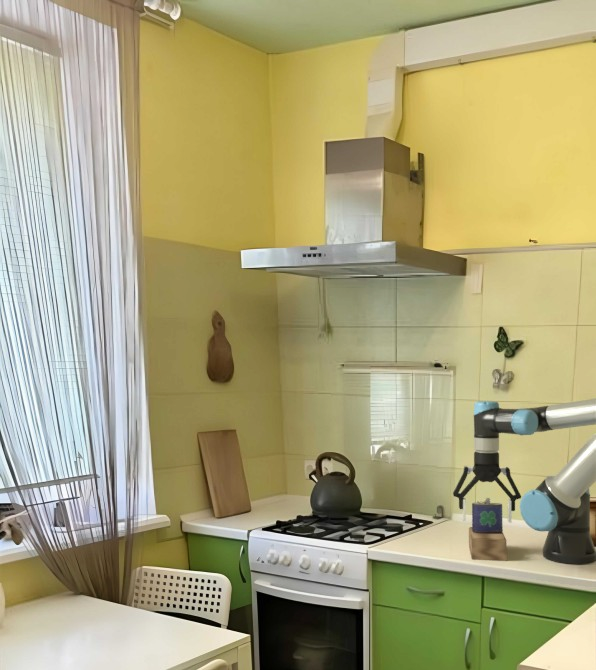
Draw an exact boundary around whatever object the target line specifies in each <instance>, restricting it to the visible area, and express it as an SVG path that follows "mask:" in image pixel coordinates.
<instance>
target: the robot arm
mask: <svg viewBox="0 0 596 670" xmlns="http://www.w3.org/2000/svg"><path fill="white" fill-rule="evenodd" d="M472 417H473V434H474V435H473V450H475V451H474V453H473V467H471V466H470V467H469V466H468V465H465V466H463V470H462V471H463V472H462V474H461V477H460V479H459V480H458V483H457V484H456V486H455V489H454V490H453V493H452V494H453V497H454V498H457V499H458V508H459V510H462V521H464V522H466V521H467V519H466V518H467V517H466V515H467V514H466V513H467V510H466V505H467V504H466V495H467V494H468V493H469V492H470V491H471V490H472V489H473V487H474V486H476V484H478V482H480V483H481V482H482V483H487V482H488V483H493V482H496V483H497V485H498V486H499V487H500V488H501V489H502V491H503V492H504V493H505V494H506V495H507V497H509V499H507V522H508V523H512V512H515V511H516V500H520V502H519V508H520V510H519V511H520V515H521V517H522V519H523V521H524V522H525V524H526V525H527V526H529V527H530V528H531V529H533V530H534V531H537V532H547V535H546V539H545V542H544V543H543V547H542V556H543V558H545V559H546V560H548V561H549V560H550V561H551V562H552V561H553V562H557V563H562V564H569V565H570V564H571V565H585V564H586V565H587V564H588V565H589V564H593V563H595V562H596V548H595V545H594V541H593V539H592V536H591V520H590V519H591V516H590V515H591V514H590V512H591V511H590V510H591V507H590V506H591V505H590V504H591V498H590V497H591V493H590V487H592V486H593V485H594V484H595V483H596V432H595V433H594V434H593V435H592V436H591V437H590V438H589V440H587V441H586V443H585V444H584V445H583V446H582V447H581V448H580V449H579V450H578V451H577V452H576V454H574V456H573V457H572V458H570V460H569V461H567V462H566V464H565V465H564V466H563V467H562V468H561V469H560V470H559V472H558V473H557V474H555V475H548V476H546V477H545V478H544V479H543V481H541V483H540V484H539V485H538V486H537V487H536V488H535V489H531V490H528V491H527V492H526V493H524V494H523V496H522V495H521V493H520V492H519V490H518V487H517V485H516V484H515V481H514V479H513V478H512V475H511V469H510V468H509V467H508V466H506V467H503V468H500V453H499V452H498V451H500V434H508V435H510V434H511V435H517V436H518V435H519V436H531V435H534V434H535V433H543V432H547V431H553V430H562V429H571V428H577V427H578V428H579V427H587V426H593V425H596V398H590V399H589V398H588V399H583V400H576V401H570V402H564V403H557V404H551V405H543V406H538V407H529V408H528V407H525V408H501V407H500V405H499V402H498V401H494V400H493V401H492V400H490V401H489V400H478V401H476V402H475V403H474V406H473V416H472ZM471 473H473V474H474V477H473V478H472V479H471V480H470V482H469V483H468V484H467V485H466V486H465V488H463V489H462V487H463V485H464V483H465V481H466V479H467V477H468V475H470V474H471ZM501 473H502V474H503V475H504V476H505V477H506V478H507V481H508V483H509V485H510V486H511V489H512V490H513V492H514V494H513V493H512V492H511V491H510V490H509V489H508V488H507V486H506V485H505V484H504V483H503V482H502V480H501V479H500V478H499V475H501ZM461 489H462V491H461ZM460 491H461V492H460Z"/></svg>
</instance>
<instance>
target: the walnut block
mask: <svg viewBox="0 0 596 670" xmlns="http://www.w3.org/2000/svg"><path fill="white" fill-rule="evenodd" d="M468 548H469V552H470V553H469V554H470V557H471V558H470V559H471V560H477V561H478V560H481V561H497V562H498V561H499V562H500V561H501V562H502V561H503V562H506V561H507V560H508V559H507V554H508V553H507V549H508V548H507V538H506V536H505V535H504V531H503V532H502V533H499V534H497V533H496V534H490V533H488V534H482V533H473V531H472V526H470V527H468Z"/></svg>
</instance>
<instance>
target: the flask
mask: <svg viewBox="0 0 596 670" xmlns="http://www.w3.org/2000/svg"><path fill="white" fill-rule="evenodd" d="M471 509H472V510H471V513H472V515H471V516H472V517H471V523H472V524H471V527H472V531H473V533H482V534H488V533H490V534H496V533H497V534H499V533H502V532H503V533H504V529H503V504H502V503H500V502H491V498H490V497H486V498H485V500H483V501H477V502H472V504H471Z"/></svg>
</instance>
